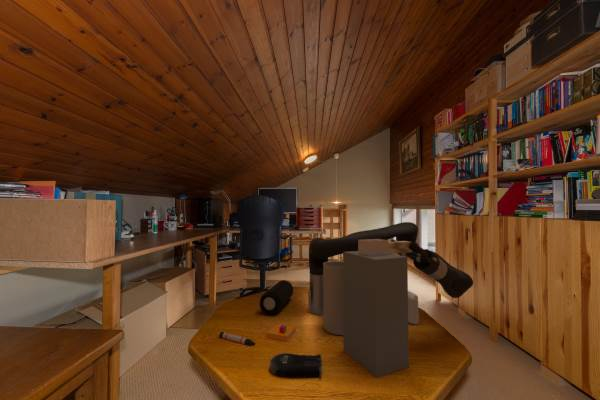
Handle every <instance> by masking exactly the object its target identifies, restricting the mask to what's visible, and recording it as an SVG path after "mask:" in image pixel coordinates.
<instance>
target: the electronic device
mask: <svg viewBox="0 0 600 400" xmlns="http://www.w3.org/2000/svg"><path fill="white" fill-rule="evenodd" d="M269 363H270V364H269V370H270V371H271V372H272V374H275V375H276V376H278V377H286V378H288V377H289V378H301V377H305V378H306V377H308V378H309V377H319V378H320V379H322V375H323V364H322V363H323V359H322V354H321V353H319V354H316V355H315V354H314V355H310V354H309V355H307V354H306V355H305V354H294V353H288V352H287V353H286V352H285V353H279V354H276V355H274V356H273V357H272V358H271V359H270V362H269Z"/></svg>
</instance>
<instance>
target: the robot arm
mask: <svg viewBox="0 0 600 400" xmlns="http://www.w3.org/2000/svg"><path fill="white" fill-rule="evenodd" d="M418 227H419V226H418V225H417V224H415V223H414V222H411V221H410V222H409V221H408V222H407V221H405V222H398V223H396V224H392V225H389V226H384V227H378V228H373V229H367V230H361V231H357V232H352V233H350V234H346V235H344V236H342V237H338V238H337V237H336V238H322V237H315V238H313V239H312V240H311V241H310V242H309V246H308V266H309V268H308V269H309V290H308V292H307V293H308V295H307V296H308V297H307V298H308V300H307V302H308V303H307V304H308V306H307V307H308V308H307V310H308V311H307V312H308V313H311V314H314V315H318V316H319V315H320V316H321V315H322V316H323V263H325V262H329V258H332V257H335V256H339V255H343V252H350V251H358V240H364V239H382V240H389V241H390V239H391V241H390V242H394V241H409V242H411V243H410V244H409V247H408V248H409V249H410V250H412V252H410V253H397V254H396V255H400V256H405V257H407V259H409V261H412V263H413V265H414V267H415V269H416V270H418V271H420V272H421V273H423V274H424V275H426V276H427V277H428V278H431V279H433V280H434V281H436V282H437V283H438V284H439V285H441V288H442V289H443V291H444V292H445V293H446V295H447V296H449V297H451V298H453V299H459V298H461V297H462V296H463V295H464V294H465V293H466V292H467V291H469V289H471V288H472V287H473V286H474V280H473V278H472V277H471V275H469V273H467V272H465V271H463V270H461V269H459V268H457V267H455V266H453V265H452V264H451V263H449V262H448V261H446V260H445V259H444V258H443V256H441V255H440V254H439V253H437V252H435V251H433V250H431V249H430V250H429V249H428V248H423V247H421V246H420V245H419V244H418V242H417V241H418V240H417V239H418V233H419V228H418ZM393 238H395V240H394V239H393Z"/></svg>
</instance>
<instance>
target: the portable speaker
mask: <svg viewBox="0 0 600 400" xmlns="http://www.w3.org/2000/svg"><path fill="white" fill-rule="evenodd" d="M293 294H294V287H293V285H292V283H291V282H290V281H288V280H286V279H285V280H283V279H282V280H280V281H278V282H277V283H276V284H274V285H273V286H272V287H270V288H269V289H268V290H266V292H264V293H263V294H262V295H261V296H260V299H259V308H260V310H261V311H262V312H263V313H265V314H266V315H273V314H276V313H278V312H279V310H281V309H282V308H283V306H284V305H285V304H287V302H288V301H289V300H290V299H291V298H292V296H293Z"/></svg>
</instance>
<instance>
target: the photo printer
mask: <svg viewBox="0 0 600 400" xmlns="http://www.w3.org/2000/svg"><path fill="white" fill-rule="evenodd" d="M419 316H420V315H419V297H418V295H417V294H416V293H414V292H412V291H409V290H408V324H413V325H418V324H419V319H420V318H419Z"/></svg>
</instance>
